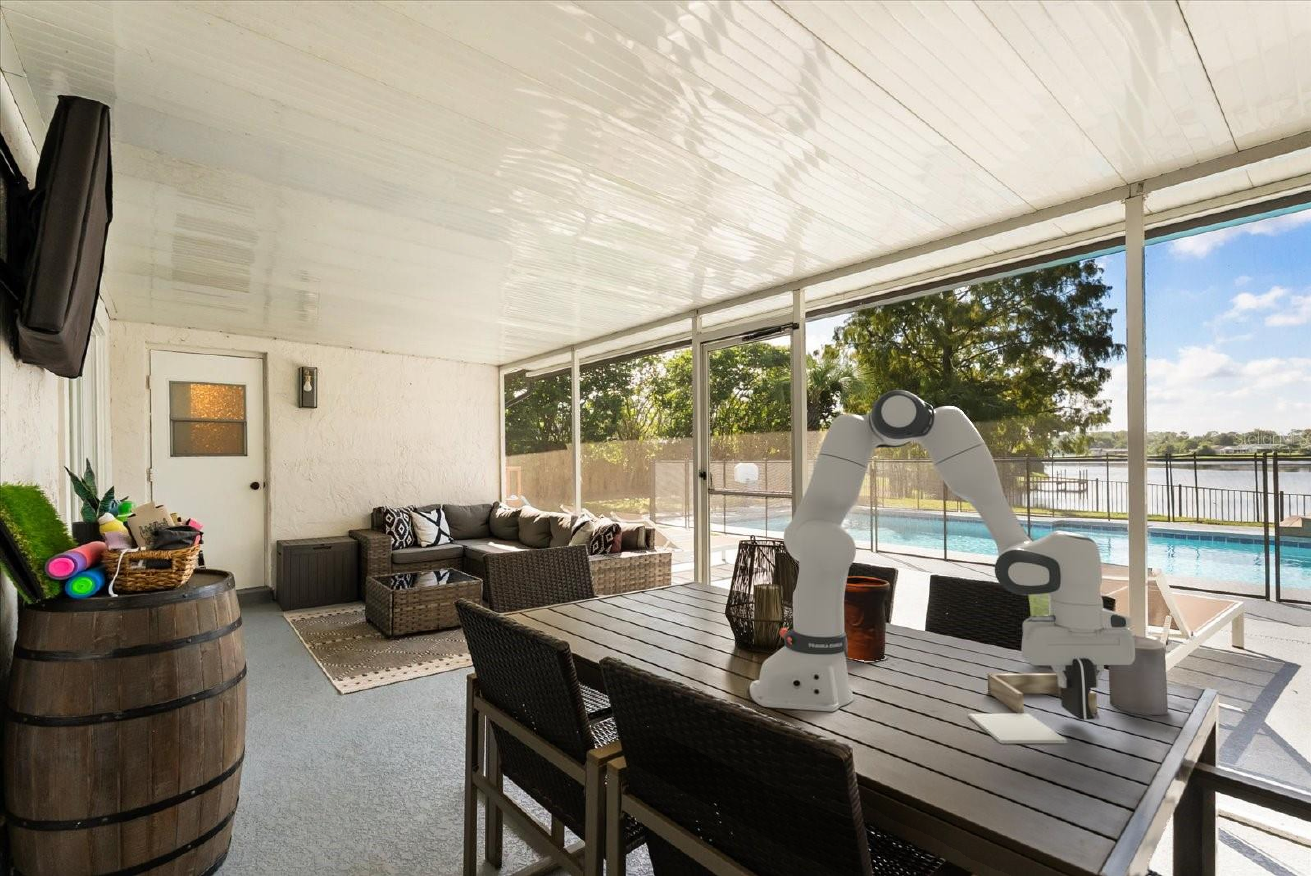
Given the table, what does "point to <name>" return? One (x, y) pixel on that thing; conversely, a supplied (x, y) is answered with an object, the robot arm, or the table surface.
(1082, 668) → the battery charger
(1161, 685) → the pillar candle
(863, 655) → the vessel
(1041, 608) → the tube
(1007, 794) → the table surface
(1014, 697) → the bay
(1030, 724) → the mat
